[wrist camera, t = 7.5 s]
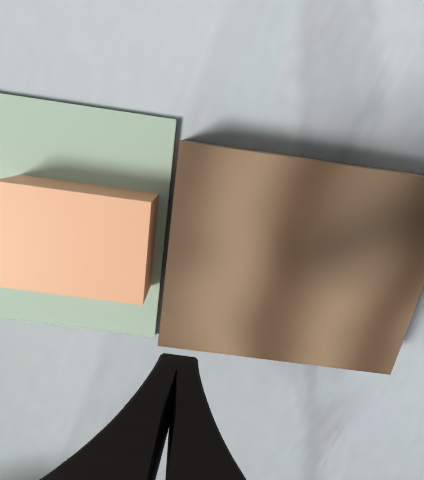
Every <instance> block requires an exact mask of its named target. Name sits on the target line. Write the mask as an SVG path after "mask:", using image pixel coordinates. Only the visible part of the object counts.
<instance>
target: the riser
mask: <svg viewBox="0 0 424 480" xmlns="http://www.w3.org/2000/svg"><path fill="white" fill-rule="evenodd" d="M423 287H424V175H421V174H414V173H407V172H400V171H393V170H387V169H380V168H373V167H366V166H359V165H353V164H346V163H339V162H332V161H325V160H319V159H312V158H305V157H298V156H291V155H285V154H278V153H271V152H264V151H257V150H251V149H244V148H237V147H230V146H223V145H217V144H210V143H203V142H196V141H189V140H181V141H179V148H178V158H177V167H176V177H175V186H174V196H173V205H172V215H171V224H170V234H169V244H168V253H167V263H166V272H165V282H164V291H163V301H162V310H161V320H160V329H159V339H158V346H164V347H172V348H180V349H188V350H196V351H204V352H212V353H220V354H228V355H236V356H244V357H252V358H260V359H268V360H276V361H284V362H292V363H301V364H309V365H317V366H325V367H333V368H341V369H349V370H357V371H365V372H373V373H381V374H389V375H390V374H391V371H392V369H393V366H394V363H395V361H396V358H397V356H398V353H399V350H400V348H401V345H402V342H403V340H404V337H405V334H406V332H407V329H408V327H409V324H410V321H411V319H412V316H413V313H414V311H415V308H416V305H417V303H418V300H419V298H420V295H421V292H422V290H423Z"/></svg>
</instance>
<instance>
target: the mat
mask: <svg viewBox="0 0 424 480" xmlns="http://www.w3.org/2000/svg"><path fill="white" fill-rule="evenodd" d="M176 124H177V120H176V119H170V118H163V117H156V116H149V115H143V114H136V113H129V112H123V111H116V110H109V109H102V108H96V107H89V106H82V105H76V104H69V103H62V102H56V101H49V100H42V99H35V98H29V97H22V96H15V95H9V94H2V93H0V179H2V178H7V177H11V176H16V175H20V174H21V175H28V176H36V177H43V178H50V179H57V180H65V181H72V182H79V183H86V184H94V185H101V186H108V187H115V188H123V189H130V190H137V191H144V192H152V193H159V200H158V211H157V222H156V234H155V245H154V256H153V268H152V279H151V287H150V289H149V292H148V294H147V296H146V299H145V301H144V304H143V305H137V304H129V303H121V302H113V301H106V300H98V299H90V298H82V297H74V296H66V295H58V294H50V293H42V292H34V291H26V290H18V289H10V288H2V287H0V318H5V319H13V320H21V321H29V322H37V323H45V324H53V325H61V326H69V327H77V328H85V329H93V330H101V331H109V332H117V333H125V334H133V335H141V336H149V337H155V332H156V322H157V312H158V302H159V292H160V282H161V272H162V262H163V253H164V243H165V233H166V223H167V213H168V203H169V193H170V183H171V173H172V163H173V153H174V143H175V134H176Z"/></svg>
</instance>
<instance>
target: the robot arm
mask: <svg viewBox="0 0 424 480" xmlns="http://www.w3.org/2000/svg"><path fill="white" fill-rule="evenodd" d="M168 429H169V436H168V450H167V465H166V479H165V480H246V478H245V477H244V475H243V473H242V472H241V470H240V469H239V467H238V465H237V464H236V462H235V461H234V459H233V457H232V455H231V454H230V452H229V450H228V448H227V446H226V444H225V442H224V440H223V438H222V436H221V434H220V432H219V430H218V428H217V425H216V423H215V421H214V418H213V416H212V413H211V411H210V408H209V405H208V402H207V399H206V396H205V393H204V390H203V386H202V383H201V378H200V374H199V368H198V360H197V359H196V358H195V357H189V356H181V355H173V354H166V353H163V354H162V355H160V357H159V359H158V361H157V363H156V365H155V366H154V368H153V370H152V371H151V373H150V374H149V376H148V377H147V379H146V380H145V381H144V383H143V384H142V385H141V387H140V388H139V390H138V391H137V392H136V393H135V395H134V396H133V397H132V398H131V399H130V401H129V402H128V403H127V404H126V405H125V407H124V408H123V409H122V410H121V411H120V412H119V413H118V414H117V415H116V416H115V417H114V419H113V420H112V421H111V422H110V423H109V424H108V425H107V426H106V427H105V428H104V429H103V430H101V431H100V432H99V433H98V434H97V435H96V436H95V437H94V438H93V439H92V440H91V441H89V442H88V443H87V444H86V445H85V446H84V447H82V448H81V449H80V450H79V451H78V452H76V453H75V454H74V455H72V456H71V457H70V458H69V459H67V460H66V461H65V462H63V463H62V464H61V465H60V466H58V467H57V468H56V469H54V470H53V471H52V472H50V473H49V474H47V475H46V476H44V477H43V478H41V479H40V480H155V479H156V475H157V471H158V468H159V464H160V460H161V456H162V452H163V448H164V444H165V440H166V436H167V433H168Z"/></svg>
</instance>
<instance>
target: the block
mask: <svg viewBox="0 0 424 480" xmlns="http://www.w3.org/2000/svg"><path fill="white" fill-rule="evenodd" d="M158 200H159V193H152V192H144V191H137V190H130V189H123V188H115V187H108V186H101V185H94V184H86V183H79V182H72V181H65V180H57V179H50V178H43V177H36V176H28V175H21V174H20V175H16V176H11V177H7V178H2V179H0V287H2V288H10V289H18V290H26V291H34V292H42V293H50V294H58V295H66V296H74V297H82V298H90V299H98V300H106V301H113V302H121V303H129V304H137V305H143V304H144V301H145V299H146V296H147V294H148V292H149V289H150V287H151V279H152V268H153V256H154V245H155V234H156V222H157V211H158Z"/></svg>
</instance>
